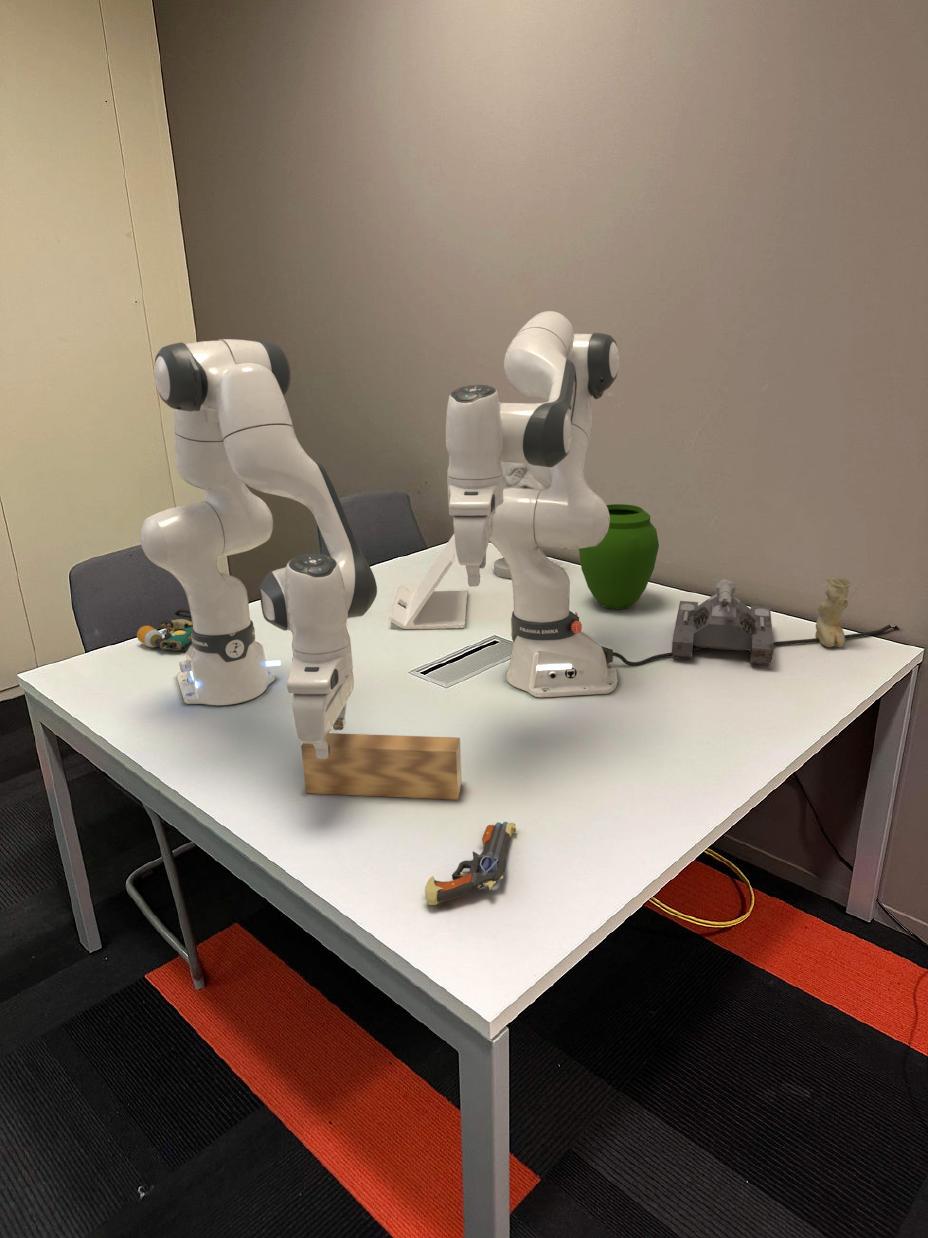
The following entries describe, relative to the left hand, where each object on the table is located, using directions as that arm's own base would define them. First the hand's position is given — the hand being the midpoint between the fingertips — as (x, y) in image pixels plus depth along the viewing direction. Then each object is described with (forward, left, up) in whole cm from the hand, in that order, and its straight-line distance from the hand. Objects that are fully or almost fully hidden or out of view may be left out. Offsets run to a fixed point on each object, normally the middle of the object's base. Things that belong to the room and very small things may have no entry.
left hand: (331, 741), depth 135 cm
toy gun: (+30, +6, -8) cm, 32 cm away
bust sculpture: (-67, +93, -8) cm, 115 cm away
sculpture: (+13, +113, -8) cm, 115 cm away
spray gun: (-81, 0, -8) cm, 82 cm away
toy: (-1, +95, -8) cm, 96 cm away
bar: (+5, +6, -8) cm, 11 cm away
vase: (-34, +96, -8) cm, 102 cm away
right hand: (+2, +27, +22) cm, 36 cm away
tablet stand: (-60, +57, -8) cm, 83 cm away
